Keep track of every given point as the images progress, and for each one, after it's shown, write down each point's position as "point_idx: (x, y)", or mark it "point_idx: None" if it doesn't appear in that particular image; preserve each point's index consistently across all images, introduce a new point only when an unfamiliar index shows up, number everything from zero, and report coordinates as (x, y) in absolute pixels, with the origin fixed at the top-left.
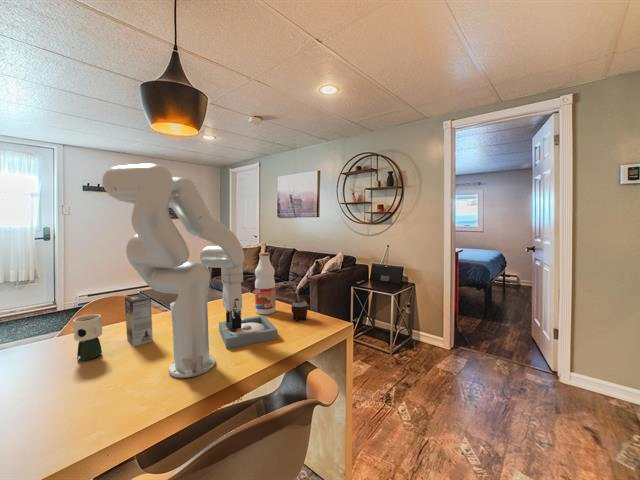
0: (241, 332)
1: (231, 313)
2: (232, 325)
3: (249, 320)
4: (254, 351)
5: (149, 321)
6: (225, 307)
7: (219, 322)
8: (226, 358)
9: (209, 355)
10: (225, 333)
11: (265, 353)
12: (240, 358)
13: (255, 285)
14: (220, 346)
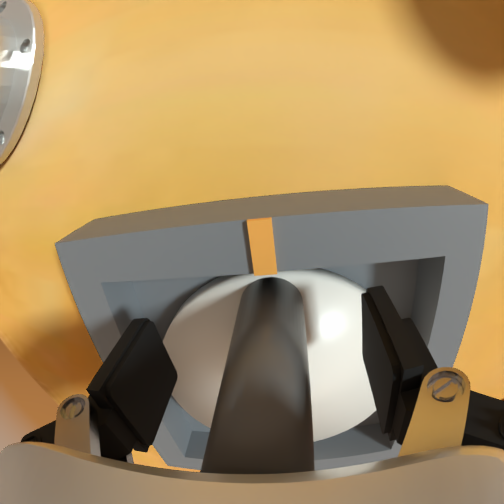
0: (210, 347)
1: (210, 438)
2: (120, 340)
3: None
4: (66, 336)
5: None
6: (161, 499)
7: (482, 208)
8: (15, 218)
9: (4, 141)
10: (152, 243)
11: (55, 361)
12: (17, 274)
13: None
14: (137, 180)
